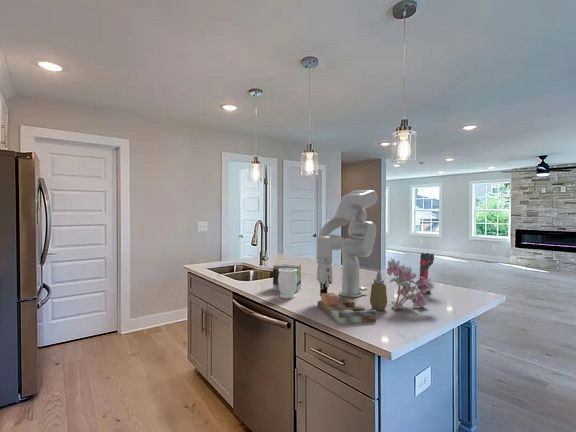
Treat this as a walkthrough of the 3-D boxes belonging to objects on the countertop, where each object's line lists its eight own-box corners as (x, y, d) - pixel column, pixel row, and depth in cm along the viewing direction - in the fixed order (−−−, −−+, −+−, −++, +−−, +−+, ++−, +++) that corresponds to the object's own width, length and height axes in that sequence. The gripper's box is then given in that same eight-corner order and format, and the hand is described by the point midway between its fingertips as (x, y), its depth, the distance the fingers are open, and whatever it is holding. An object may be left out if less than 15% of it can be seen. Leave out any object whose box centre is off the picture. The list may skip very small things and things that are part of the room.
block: (332, 300, 160) (332, 292, 160) (337, 304, 155) (337, 295, 155) (321, 301, 159) (321, 293, 159) (325, 304, 153) (325, 296, 153)
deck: (349, 303, 164) (349, 295, 164) (376, 321, 139) (376, 310, 139) (317, 306, 159) (317, 297, 159) (339, 324, 134) (339, 313, 134)
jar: (295, 299, 170) (295, 271, 170) (275, 298, 172) (276, 270, 172) (298, 294, 180) (298, 268, 180) (280, 293, 182) (280, 267, 182)
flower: (430, 317, 140) (438, 262, 149) (377, 304, 150) (388, 254, 159) (430, 323, 157) (437, 274, 165) (382, 312, 167) (391, 266, 175)
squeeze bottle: (374, 305, 162) (374, 269, 161) (389, 308, 156) (390, 271, 156) (366, 309, 155) (367, 271, 155) (382, 312, 150) (383, 274, 150)
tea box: (301, 288, 196) (301, 264, 195) (297, 292, 186) (297, 266, 186) (277, 286, 199) (277, 262, 199) (272, 290, 190) (272, 265, 189)
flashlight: (436, 294, 187) (437, 254, 186) (423, 294, 185) (424, 254, 185) (428, 290, 194) (429, 252, 194) (416, 291, 193) (417, 252, 193)
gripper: (337, 262, 157) (336, 300, 157) (325, 258, 172) (325, 292, 172) (322, 263, 155) (321, 301, 155) (312, 258, 170) (311, 293, 170)
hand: (323, 296), depth 164 cm, fingers closed
